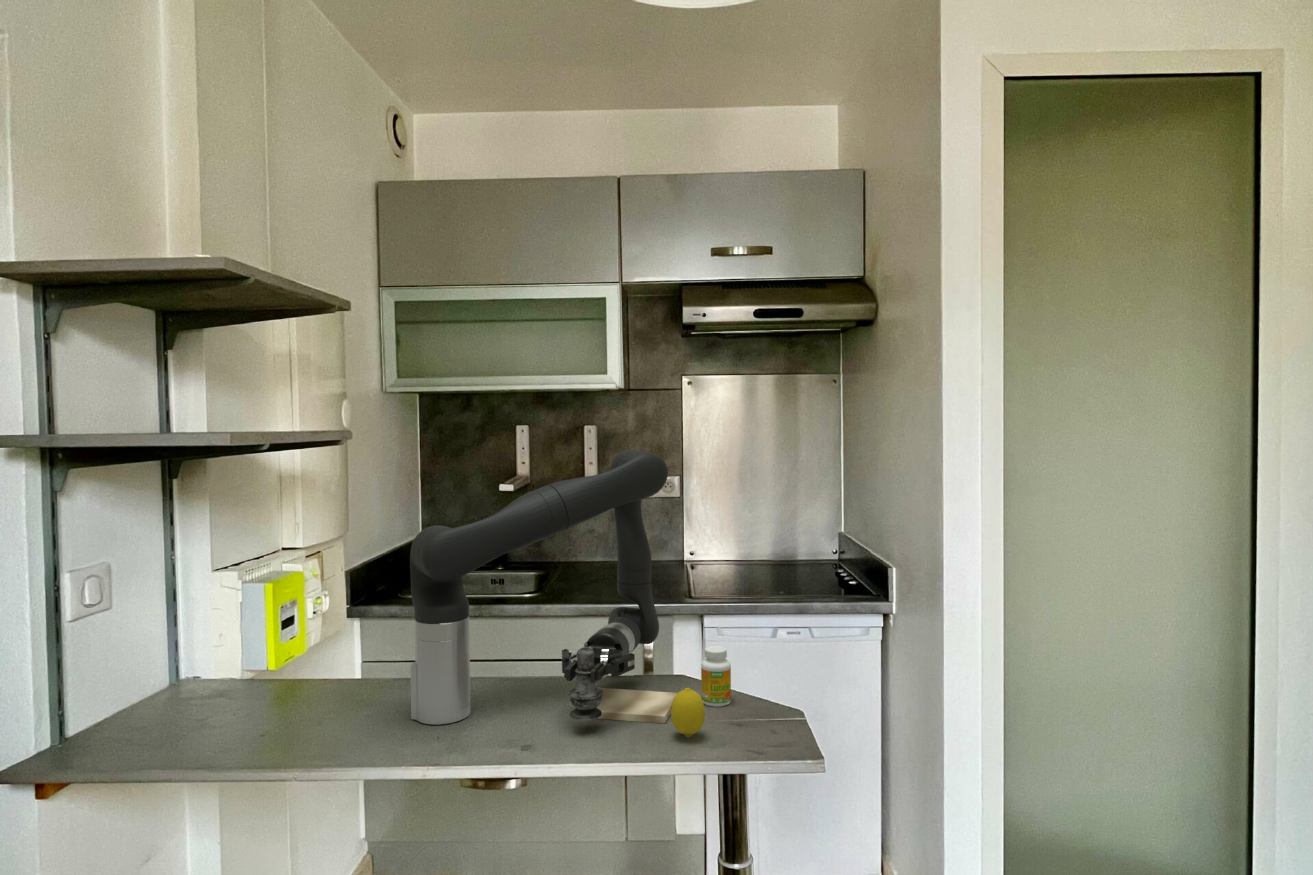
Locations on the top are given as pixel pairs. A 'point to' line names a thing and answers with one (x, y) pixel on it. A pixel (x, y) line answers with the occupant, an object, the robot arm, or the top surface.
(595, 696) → the salt shaker
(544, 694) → the top surface
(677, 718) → the lemon
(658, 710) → the birch board
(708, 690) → the supplement bottle
